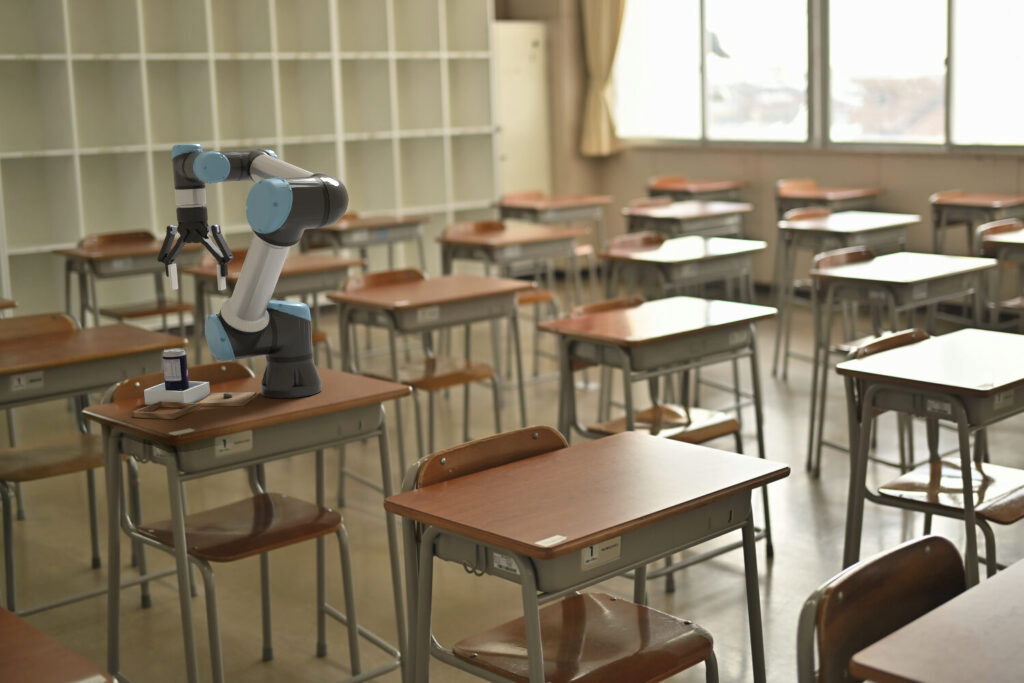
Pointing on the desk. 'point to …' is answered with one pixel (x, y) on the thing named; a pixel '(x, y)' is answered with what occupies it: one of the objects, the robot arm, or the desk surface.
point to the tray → (177, 393)
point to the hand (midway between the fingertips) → (198, 289)
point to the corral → (146, 414)
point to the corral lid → (228, 399)
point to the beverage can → (175, 370)
